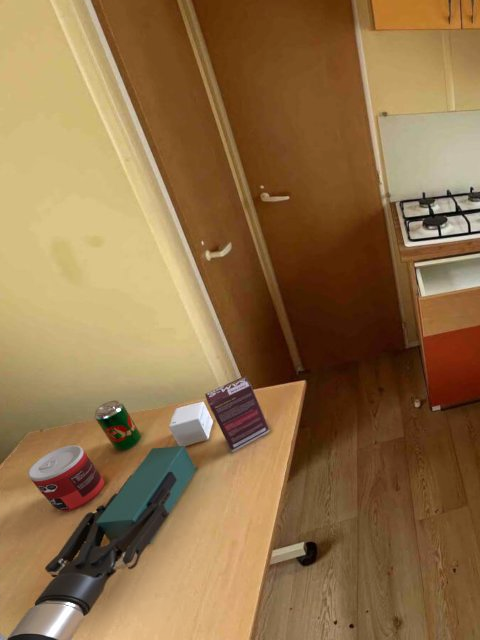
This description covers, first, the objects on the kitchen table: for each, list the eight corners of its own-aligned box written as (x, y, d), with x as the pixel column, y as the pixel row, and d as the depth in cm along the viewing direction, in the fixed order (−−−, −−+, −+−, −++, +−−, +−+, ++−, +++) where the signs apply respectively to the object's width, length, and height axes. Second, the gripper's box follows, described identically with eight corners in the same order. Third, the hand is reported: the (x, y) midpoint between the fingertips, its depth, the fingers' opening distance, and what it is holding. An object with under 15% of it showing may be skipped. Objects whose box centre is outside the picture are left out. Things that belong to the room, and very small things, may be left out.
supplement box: (264, 421, 108) (246, 374, 100) (270, 432, 104) (252, 385, 97) (225, 441, 102) (203, 393, 95) (231, 453, 99) (208, 405, 92)
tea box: (114, 547, 81) (95, 523, 77) (166, 471, 95) (152, 448, 91) (150, 544, 81) (133, 519, 78) (196, 469, 96) (184, 445, 92)
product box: (208, 440, 102) (198, 418, 99) (179, 448, 100) (167, 427, 97) (213, 421, 107) (204, 400, 104) (185, 429, 105) (174, 408, 102)
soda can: (129, 433, 104) (108, 398, 99) (147, 435, 104) (127, 400, 98) (109, 450, 100) (86, 414, 94) (128, 453, 99) (105, 417, 94)
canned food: (54, 496, 90) (26, 462, 85) (103, 471, 95) (80, 438, 90) (57, 521, 85) (28, 487, 80) (108, 493, 90) (84, 459, 85)
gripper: (5, 630, 68) (111, 493, 88) (134, 615, 69) (209, 484, 90) (-22, 606, 64) (95, 470, 85) (115, 592, 66) (197, 461, 86)
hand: (153, 477), depth 87 cm, fingers closed on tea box, 6 cm apart
